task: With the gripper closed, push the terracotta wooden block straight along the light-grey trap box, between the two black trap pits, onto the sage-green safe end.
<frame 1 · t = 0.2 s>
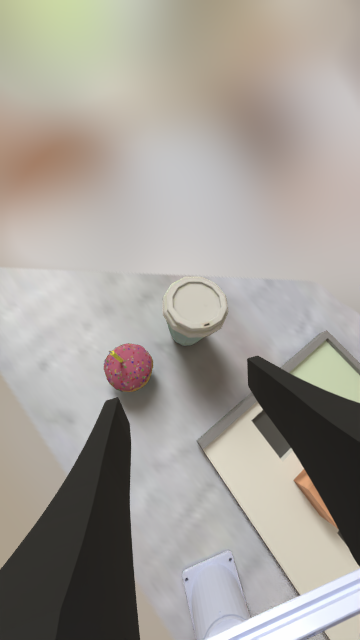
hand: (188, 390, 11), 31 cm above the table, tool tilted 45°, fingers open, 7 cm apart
block: (318, 484, 36), point 1 cm above the table, touching trap box
disposable coffee cup: (187, 331, 46), on the table
cupcake: (132, 370, 42), on the table
trap box: (328, 463, 38), on the table
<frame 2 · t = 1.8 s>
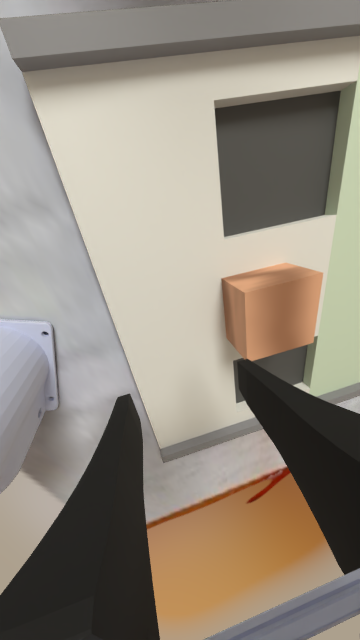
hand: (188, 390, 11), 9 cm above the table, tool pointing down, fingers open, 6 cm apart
block: (254, 302, 19), point 1 cm above the table, touching trap box
trap box: (287, 286, 21), on the table
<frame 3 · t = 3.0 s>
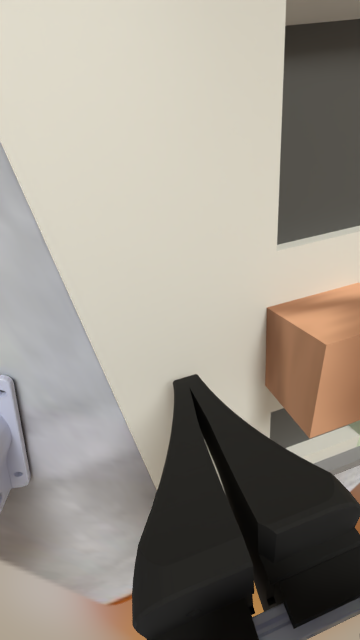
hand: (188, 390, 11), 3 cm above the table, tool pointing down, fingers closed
block: (308, 337, 14), point 1 cm above the table, touching trap box
trap box: (347, 311, 15), on the table
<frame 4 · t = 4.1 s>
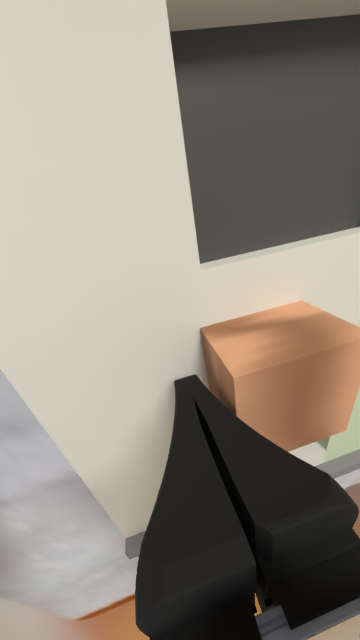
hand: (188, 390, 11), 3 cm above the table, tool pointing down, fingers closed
block: (252, 357, 13), point 2 cm above the table, touching gripper
trap box: (300, 327, 15), on the table
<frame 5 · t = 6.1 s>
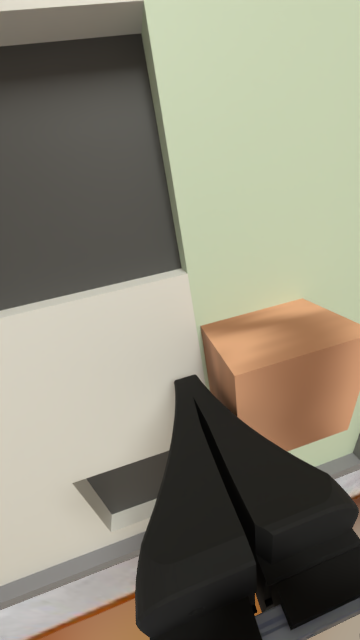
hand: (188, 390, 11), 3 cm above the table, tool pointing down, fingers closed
block: (253, 355, 13), point 1 cm above the table, touching gripper, trap box
trap box: (151, 370, 13), on the table
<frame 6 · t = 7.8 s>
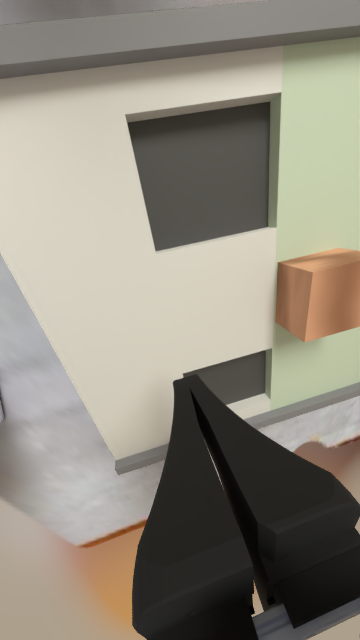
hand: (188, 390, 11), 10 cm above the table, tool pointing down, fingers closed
block: (305, 286, 20), point 1 cm above the table, touching trap box
trap box: (237, 298, 21), on the table
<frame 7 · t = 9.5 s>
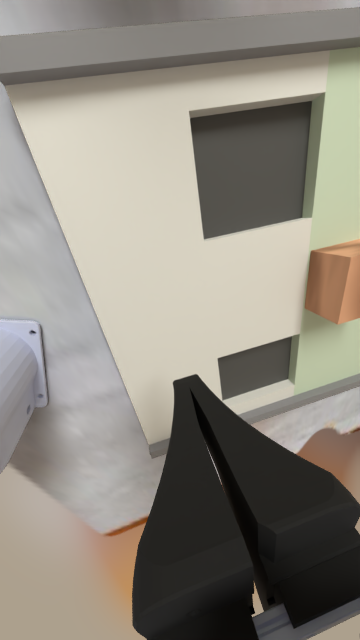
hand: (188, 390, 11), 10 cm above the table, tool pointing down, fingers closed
block: (333, 274, 21), point 1 cm above the table, touching trap box
trap box: (269, 286, 22), on the table
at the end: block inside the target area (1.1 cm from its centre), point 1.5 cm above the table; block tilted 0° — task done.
